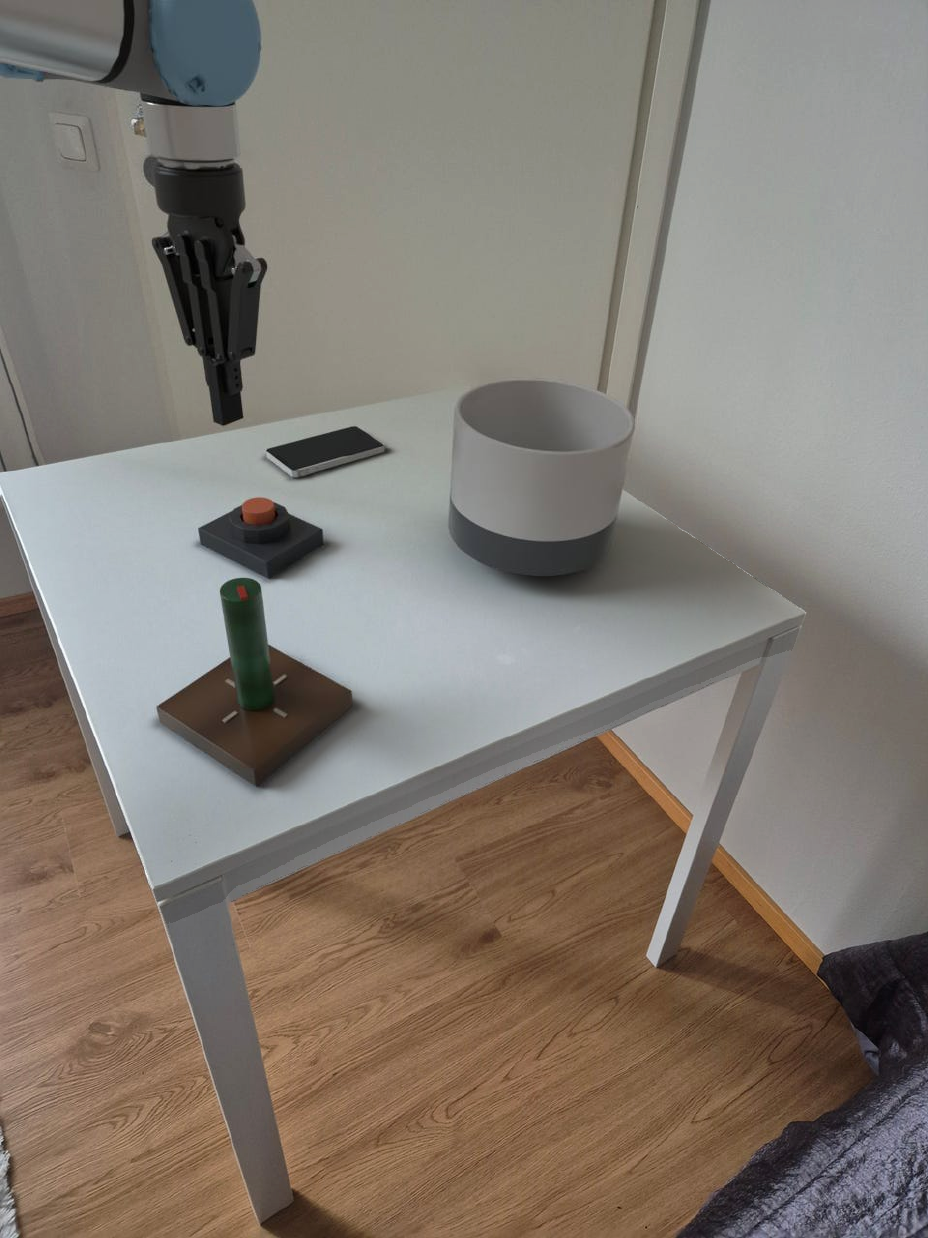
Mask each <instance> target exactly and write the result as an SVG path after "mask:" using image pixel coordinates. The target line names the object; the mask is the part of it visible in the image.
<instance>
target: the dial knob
mask: <svg viewBox="0 0 928 1238" xmlns="http://www.w3.org/2000/svg"><path fill="white" fill-rule="evenodd" d="M262 592H263V591H262V585H261V583H260V582H258V581H257V580H256V579H254V578H251V577H250V578H249V577H236V578H232V579H229V580H227V581H226V582H224V583H223V584H222V585H221V586H220V588H219V596H220V603H221V608H222V615H223V621H224V626H225V633H226V640H227V645H228V651H229V652H228V653H229V657H230V659H231V665H232V671H233V677H234V683H235V689H236V696H237V701H238V704H239V705H240V706H241V707H242V708H244V709H246V710H252V711H255V710H261V709H264V708H266V707H267V706H269V705H270V704H271V703H272V702H273V700H274V689H273V681H272V673H271V665H270V656H269V648H268V644H269V642H268V641H269V640H268V632H267V624H266V623H267V622H266V617H265V609H264V608H265V607H264V600H263V599H264V598H263V593H262Z"/></svg>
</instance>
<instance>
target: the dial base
mask: <svg viewBox="0 0 928 1238" xmlns="http://www.w3.org/2000/svg"><path fill="white" fill-rule="evenodd" d="M268 648H269V656H270V665H271V673H272V681H273V689H274V700H273V702H272V703H271V704H270V705H269V706H267V707H266V708H264V709H261V710H255V711H252V710H246V709H244V708H242V707H241V706H240V705H239V704H238V701H237V696H236V689H235V683H234V677H233V671H232V665H231V659H230V656H229V657H228V658H227V659H225V660H224V661H222V662H220V663H219V664H218V665H216V666H214V667H213V668H212V669H210V670H209V671H207V672H206V673H204V674H202V675H201V676H200V677H198V678H197V679H195V680H194V681H192V682H190V683H189V684H188V685H187V686H185V687H183V688H182V689H180V690H179V691H177V692H176V693H174V694H173V695H171V696H170V697H169V698H167V699H165V700H164V701H162V702H161V703H160V704H158V705H157V706H156V711H157V716H158V720H159V723H160V724H161V725H163V726H164V727H166V728H167V729H169V730H170V731H172V732H173V733H175V734H176V735H177V736H179V737H181V738H182V739H184V740H185V741H187V742H188V743H190V744H191V745H192V746H194V747H196V748H197V749H199V750H200V751H202V752H203V753H204V754H206V755H207V756H209V757H210V758H212V759H213V760H214V761H217V762H218V763H220V764H221V765H223V766H224V767H226V768H227V769H229V770H230V771H231V772H233V773H235V774H236V775H237V776H239V777H241V778H242V779H244V780H245V781H247V782H248V783H249V784H251V785H252V786H254V787H258V786H259V785H261V784H262V783H263V782H264V781H266V780H267V779H268V778H269V777H270V776H272V775H273V773H275V772H276V771H278V769H280V768H281V767H282V766H283V765H284V764H286V763H287V762H288V761H289V760H290V759H291V758H293V757H294V756H295V755H296V754H297V753H299V752H300V751H301V750H302V749H304V748H305V747H306V746H307V745H308V744H309V743H311V742H312V741H313V740H314V739H316V737H318V736H319V735H320V734H322V733H323V732H324V731H325V730H327V728H329V727H330V726H331V725H332V724H334V723H335V722H336V721H337V720H338V719H339V718H341V716H343V715H344V714H345V713H347V711H348V710H350V709H351V708H352V707H353V691H352V690H351V689H349V688H347V687H346V686H344V685H342V684H340V683H338V682H337V681H335V680H334V679H332V678H330V677H329V676H326V675H324V674H322V673H321V672H319V671H317V670H315V669H313V668H312V667H310V666H308V665H306V664H304V663H303V662H301V661H299V660H298V659H296V658H294V657H292V656H290V655H288V654H287V653H285V652H283V651H282V650H280V649H278V648H276V647H274V646H272V645H271V644H269V643H268Z"/></svg>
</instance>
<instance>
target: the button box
mask: <svg viewBox="0 0 928 1238" xmlns="http://www.w3.org/2000/svg"><path fill="white" fill-rule="evenodd" d="M273 503H274V507H275V520H274V521H272V522H270V523H268V524H263V525H252V524H247V523H245V522H244V520H243V513H242V504H241V505H238V506H236V507H234V508H233V509H232V510H231V511H229V512H227V513H225V514H223V515H221V516H219V517H217V518H215V519H213V520H211V521H209V522H207V523H206V524H203V525H202V526H200V527H198V528H197V531H198V536H199V537H198V538H199V542H200V545H201V546H203V547H205V548H208V549H209V550H211V551H214V552H215V553H217V554H219V555H221V556H223V557H225V558H227V559H229V560H231V561H233V562H235V563H236V564H238V565H241V566H243V567H244V568H247V569H248V570H250V571H252V572H254V573H256V574H258V575H260V576H262V577H264V578H265V579H270V578H272V577H273V576H275V575H277V574H278V573H280V572H281V571H283V570H285V569H287V568H288V567H290V566H291V565H293V564H294V563H297V562H298V561H299V560H302V559H304V557H306V556H308V555H310V554H311V553H313V552H314V551H315V550H317V549H319V548H321V547H322V546H324V531H323V530H324V529H323V528H321V527H319V526H317V525H314V524H312V523H310V522H308V521H305V520H304V519H301V518H299V517H297V516H295V515H292V514H291V513H289V511H288V509H287V508H286V506H284V505H281V504H279V503H278V502H274V501H273Z"/></svg>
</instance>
